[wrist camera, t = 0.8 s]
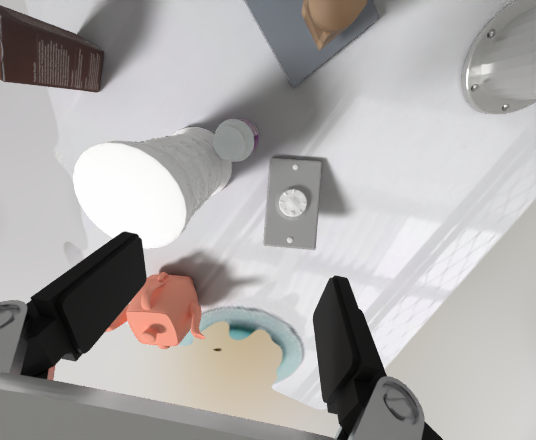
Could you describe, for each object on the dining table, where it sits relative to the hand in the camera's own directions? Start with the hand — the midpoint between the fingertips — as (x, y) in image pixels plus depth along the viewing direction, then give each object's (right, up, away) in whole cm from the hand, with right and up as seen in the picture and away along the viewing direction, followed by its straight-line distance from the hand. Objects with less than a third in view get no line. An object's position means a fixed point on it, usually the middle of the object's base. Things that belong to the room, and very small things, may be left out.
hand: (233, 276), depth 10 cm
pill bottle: (-2, +16, +23) cm, 28 cm away
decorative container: (-10, +13, +26) cm, 30 cm away
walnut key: (+8, +25, +12) cm, 29 cm away
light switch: (+6, +7, +27) cm, 29 cm away
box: (-25, +26, +20) cm, 41 cm away
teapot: (-20, -14, +40) cm, 47 cm away
